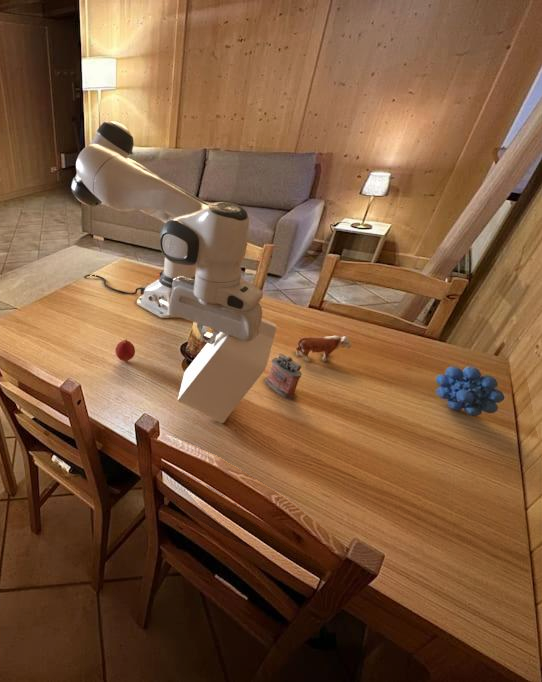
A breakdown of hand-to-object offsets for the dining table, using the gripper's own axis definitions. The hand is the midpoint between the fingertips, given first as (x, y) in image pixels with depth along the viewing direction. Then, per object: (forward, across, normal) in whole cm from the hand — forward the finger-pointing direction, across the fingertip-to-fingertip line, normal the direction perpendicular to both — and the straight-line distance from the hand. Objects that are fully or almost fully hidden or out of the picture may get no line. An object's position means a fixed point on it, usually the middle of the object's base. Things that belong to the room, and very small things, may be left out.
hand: (207, 341), depth 82 cm
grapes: (+19, +46, +37) cm, 62 cm away
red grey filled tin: (+19, +13, +18) cm, 30 cm away
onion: (+19, -26, +1) cm, 32 cm away
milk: (+17, +1, 0) cm, 17 cm away
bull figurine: (+19, +16, +38) cm, 46 cm away
